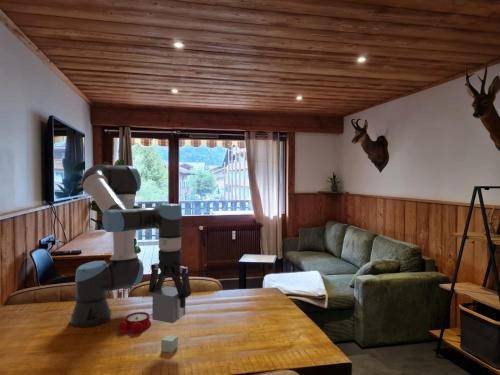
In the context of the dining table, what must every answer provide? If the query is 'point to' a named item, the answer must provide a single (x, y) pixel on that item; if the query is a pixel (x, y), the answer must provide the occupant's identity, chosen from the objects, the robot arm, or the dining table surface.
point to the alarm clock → (135, 322)
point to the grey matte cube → (165, 305)
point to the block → (169, 343)
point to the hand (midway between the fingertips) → (169, 314)
